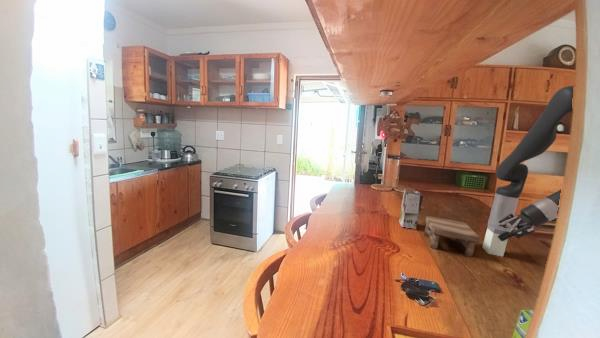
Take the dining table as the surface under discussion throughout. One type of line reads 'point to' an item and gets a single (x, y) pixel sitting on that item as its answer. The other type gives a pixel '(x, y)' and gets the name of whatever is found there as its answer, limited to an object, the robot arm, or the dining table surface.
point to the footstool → (450, 233)
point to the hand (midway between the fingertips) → (495, 235)
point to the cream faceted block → (494, 240)
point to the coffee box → (410, 208)
